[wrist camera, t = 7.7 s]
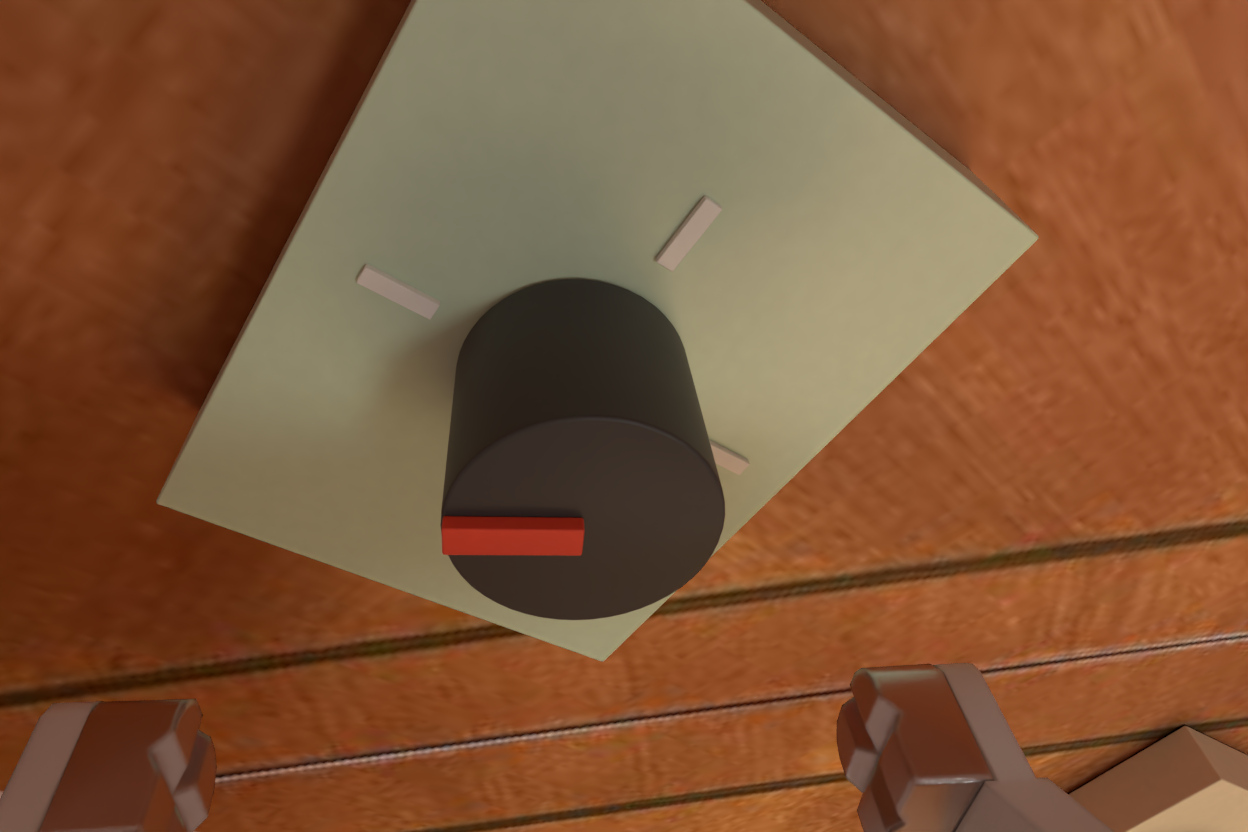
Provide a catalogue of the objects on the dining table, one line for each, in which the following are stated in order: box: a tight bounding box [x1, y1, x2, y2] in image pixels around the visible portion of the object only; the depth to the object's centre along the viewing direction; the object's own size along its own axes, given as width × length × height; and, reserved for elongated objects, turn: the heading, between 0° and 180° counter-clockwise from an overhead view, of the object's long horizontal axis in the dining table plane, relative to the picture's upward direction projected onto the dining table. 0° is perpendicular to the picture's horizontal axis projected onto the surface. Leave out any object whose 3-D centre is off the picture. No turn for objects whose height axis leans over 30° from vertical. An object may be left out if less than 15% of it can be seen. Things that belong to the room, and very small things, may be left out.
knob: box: [440, 279, 725, 620], centre depth 15 cm, size 4×4×4 cm
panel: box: [156, 0, 1039, 661], centre depth 18 cm, size 14×11×3 cm
